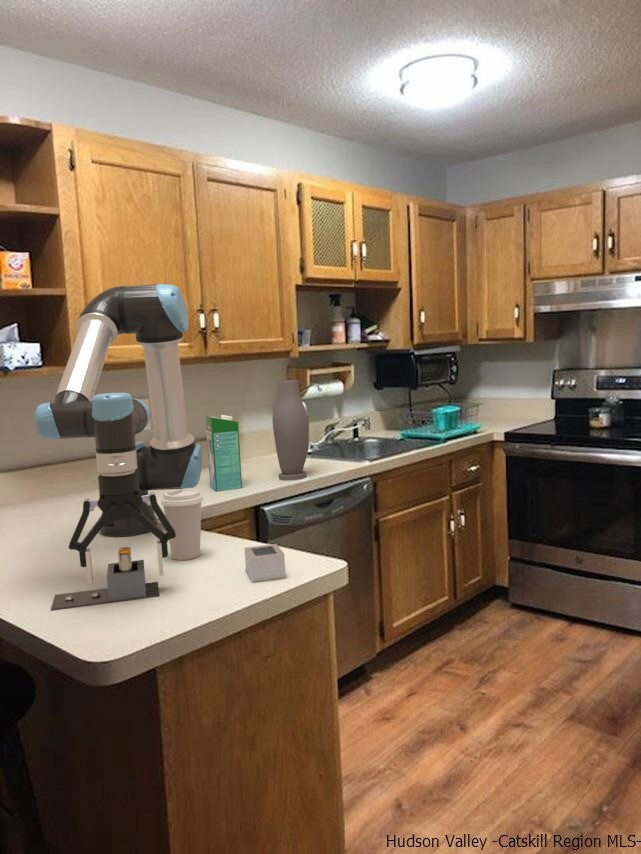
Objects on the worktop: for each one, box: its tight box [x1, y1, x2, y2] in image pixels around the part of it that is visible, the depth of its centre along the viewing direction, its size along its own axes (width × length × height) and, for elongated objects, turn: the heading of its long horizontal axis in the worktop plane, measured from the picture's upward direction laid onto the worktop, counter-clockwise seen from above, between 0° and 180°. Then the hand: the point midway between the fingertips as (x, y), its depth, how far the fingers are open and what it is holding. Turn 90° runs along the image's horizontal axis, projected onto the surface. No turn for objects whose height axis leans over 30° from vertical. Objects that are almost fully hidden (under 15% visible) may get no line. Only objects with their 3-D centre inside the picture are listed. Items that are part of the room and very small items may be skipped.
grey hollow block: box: [106, 559, 147, 601], centre depth 139 cm, size 8×7×5 cm
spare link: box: [244, 543, 286, 583], centre depth 147 cm, size 8×7×5 cm
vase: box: [272, 379, 310, 481], centre depth 250 cm, size 13×13×35 cm
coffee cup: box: [160, 488, 204, 561], centre depth 162 cm, size 10×10×15 cm
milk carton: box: [205, 414, 243, 492], centre depth 238 cm, size 9×9×25 cm
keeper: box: [50, 546, 160, 611], centre depth 138 cm, size 8×20×9 cm, turn 105°
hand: (126, 577), depth 139 cm, fingers open, 13 cm apart
